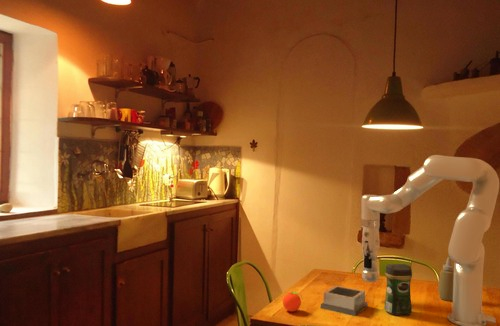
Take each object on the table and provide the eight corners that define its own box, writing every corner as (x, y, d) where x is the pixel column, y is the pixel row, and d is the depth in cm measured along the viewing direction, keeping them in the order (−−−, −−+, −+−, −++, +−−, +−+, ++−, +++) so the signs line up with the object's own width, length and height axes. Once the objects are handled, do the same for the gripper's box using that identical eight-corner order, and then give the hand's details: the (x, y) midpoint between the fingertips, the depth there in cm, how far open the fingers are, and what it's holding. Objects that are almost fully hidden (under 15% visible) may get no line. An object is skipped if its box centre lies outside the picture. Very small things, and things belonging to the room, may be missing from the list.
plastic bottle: (379, 284, 175) (379, 235, 176) (362, 283, 176) (362, 235, 177) (377, 280, 181) (377, 233, 182) (361, 279, 183) (361, 233, 183)
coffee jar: (403, 308, 168) (404, 261, 168) (414, 315, 160) (416, 266, 160) (380, 309, 166) (382, 262, 166) (391, 316, 158) (392, 266, 158)
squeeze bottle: (436, 300, 181) (438, 257, 181) (438, 295, 188) (439, 254, 188) (458, 303, 177) (459, 260, 177) (458, 298, 184) (459, 257, 184)
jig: (367, 306, 169) (367, 291, 169) (355, 315, 158) (355, 299, 158) (334, 299, 177) (334, 284, 177) (320, 307, 165) (321, 292, 165)
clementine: (297, 307, 166) (298, 288, 166) (306, 313, 159) (307, 294, 159) (279, 308, 163) (279, 290, 163) (287, 315, 156) (287, 295, 156)
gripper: (373, 226, 170) (372, 271, 170) (385, 222, 185) (384, 264, 184) (354, 225, 174) (354, 269, 174) (368, 221, 189) (367, 262, 188)
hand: (370, 266), depth 179 cm, fingers closed on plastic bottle, 5 cm apart
